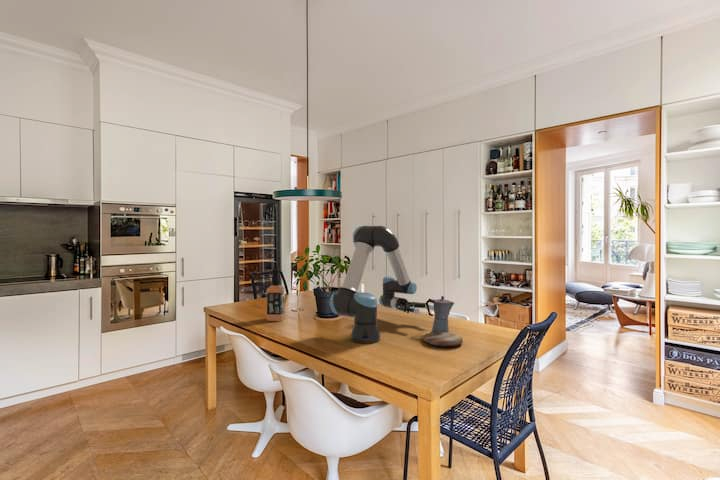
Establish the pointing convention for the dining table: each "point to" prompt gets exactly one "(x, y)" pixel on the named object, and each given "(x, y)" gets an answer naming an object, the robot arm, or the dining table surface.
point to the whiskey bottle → (275, 299)
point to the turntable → (443, 339)
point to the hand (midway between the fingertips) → (426, 309)
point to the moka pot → (440, 314)
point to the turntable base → (442, 346)
